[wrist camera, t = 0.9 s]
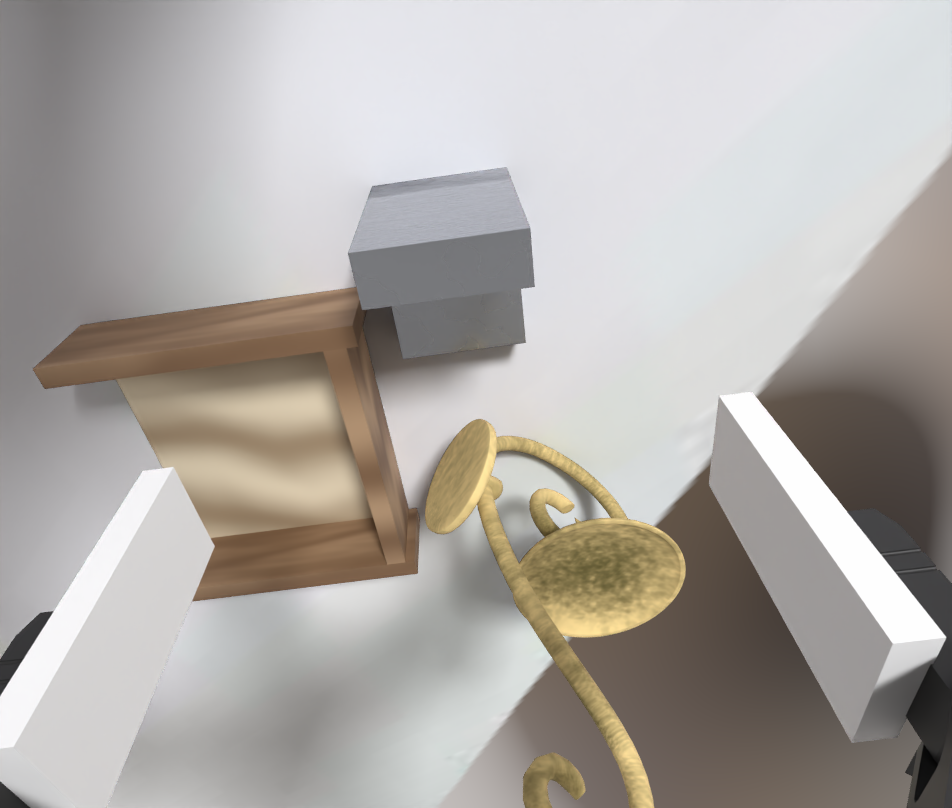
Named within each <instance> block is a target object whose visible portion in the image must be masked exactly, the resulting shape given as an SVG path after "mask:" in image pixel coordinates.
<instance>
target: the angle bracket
mask: <svg viewBox="0 0 952 808" xmlns="http://www.w3.org/2000/svg"><path fill="white" fill-rule="evenodd" d="M348 255H349V259H350V263H351V267H352V271H353V275H354V279H355V283H356V287H357V291H358V295H359V299H360V303H361V307H362V310H368V309H375V308H383V307H390V306H391V307H392V312H393V316H394V321H395V325H396V330H397V334H398V339H399V343H400V348H401V352H402V357H403V359H408V358H415V357H423V356H430V355H438V354H445V353H453V352H460V351H468V350H475V349H483V348H490V347H498V346H505V345H513V344H520V343H526V340H525V329H524V318H523V307H522V296H521V289H522V288H530V287H535V285H534V271H533V258H532V245H531V232H530V226H529V224H528V221H527V218H526V216H525V213H524V211H523V208H522V206H521V203H520V200H519V198H518V195H517V193H516V190H515V188H514V185H513V183H512V180H511V177H510V175H509V172H508V170H507V167H504V168H497V169H490V170H483V171H476V172H469V173H462V174H455V175H448V176H441V177H434V178H427V179H420V180H413V181H406V182H399V183H392V184H385V185H378V186H372V188H371V191H370V194H369V197H368V199H367V202H366V205H365V208H364V210H363V213H362V216H361V219H360V221H359V224H358V227H357V230H356V232H355V235H354V238H353V241H352V243H351V246H350V249H349V252H348Z"/></svg>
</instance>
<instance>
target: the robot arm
mask: <svg viewBox="0 0 952 808" xmlns="http://www.w3.org/2000/svg"><path fill="white" fill-rule="evenodd" d="M709 485H710V487H711V489H712V491H713V493H714V494H715V496H716V498H717V500H718V502H719V503H720V505H721V507H722V509H723V510H724V512H725V514H726V516H727V518H728V520H729V521H730V523H731V525H732V527H733V529H734V531H735V532H736V534H737V536H738V538H739V540H740V541H741V543H742V545H743V547H744V549H745V550H746V552H747V554H748V556H749V558H750V559H751V561H752V563H753V565H754V567H755V568H756V570H757V572H758V574H759V576H760V578H761V579H762V581H763V583H764V585H765V586H766V588H767V590H768V592H769V594H770V595H771V597H772V599H773V601H774V603H775V605H776V606H777V608H778V610H779V612H780V614H781V615H782V617H783V619H784V621H785V623H786V624H787V626H788V628H789V630H790V632H791V634H792V635H793V637H794V639H795V641H796V642H797V644H798V646H799V648H800V650H801V651H802V653H803V655H804V657H805V659H806V661H807V662H808V664H809V666H810V668H811V670H812V671H813V673H814V675H815V677H816V679H817V680H818V682H819V684H820V686H821V688H822V690H823V691H824V693H825V695H826V697H827V699H828V700H829V702H830V704H831V706H832V708H833V709H834V711H835V713H836V715H837V717H838V718H839V720H840V722H841V724H842V726H843V727H844V729H845V731H846V733H847V735H848V736H849V738H850V740H851V742H861V741H869V740H879V739H887V738H897V737H898V735H899V733H900V731H901V729H902V727H903V725H904V723H905V721H906V719H908V720H909V722H910V723H911V725H912V726H913V728H914V730H915V731H916V732H917V734H918V736H919V737H920V739H921V740H922V742H921V744H920V746H919V747H918V749H917V751H916V753H915V756H914V757H913V759H912V761H911V762H910V764H909V766H908V768H907V770H906V772H905V773H907V774H909V775H911V776H912V781H911V786H910V792H909V797H908V803H907V808H952V583H951V582H950V581H949V580H948V579H947V578H946V577H945V576H944V574H943V573H942V572H941V571H940V570H937V569H936V565H935V564H934V563H933V562H932V561H931V559H930V558H929V557H928V556H927V555H926V554H925V553H924V552H921V551H920V547H919V546H918V545H917V543H916V542H915V541H914V540H913V539H912V538H911V537H910V535H909V534H908V533H907V532H906V531H905V530H904V529H903V528H902V526H900V525H899V524H897V523H896V522H894V521H893V520H891V519H890V518H888V517H887V516H885V515H883V514H882V513H880V512H879V511H877V510H876V509H874V508H873V509H864V510H856V511H848V512H847V511H846V510H845V509H844V508H843V507H842V505H841V504H840V503H839V501H838V500H837V499H836V497H835V496H834V495H833V494H832V493H831V491H830V490H829V489H828V487H827V486H826V485H825V484H824V482H823V481H822V480H821V479H820V478H819V476H818V475H817V474H816V472H815V471H814V470H813V468H812V467H811V466H810V465H809V464H808V462H807V461H806V460H805V459H804V457H803V456H802V455H801V453H800V452H799V451H798V450H797V448H796V447H795V446H794V445H793V443H792V442H791V441H790V439H789V438H788V437H787V436H786V434H785V433H784V432H783V431H782V430H781V428H780V427H779V426H778V424H777V423H776V422H775V421H774V419H773V418H772V417H771V416H770V414H769V413H768V412H767V410H766V409H765V408H764V407H763V405H762V404H761V403H760V402H759V400H758V399H757V398H756V397H755V395H754V394H753V393H752V392H746V393H739V394H731V395H723V396H719V400H718V409H717V418H716V426H715V435H714V444H713V453H712V461H711V470H710V479H709ZM214 547H215V546H214V544H213V542H212V540H211V538H210V536H209V534H208V532H207V531H206V529H205V527H204V525H203V523H202V521H201V519H200V517H199V515H198V513H197V511H196V509H195V507H194V505H193V503H192V502H191V500H190V498H189V496H188V494H187V492H186V490H185V488H184V486H183V484H182V482H181V480H180V478H179V476H178V474H177V473H176V471H175V469H174V467H169V468H161V469H154V470H146V471H142V473H141V474H140V476H139V477H138V479H137V481H136V482H135V484H134V485H133V487H132V489H131V490H130V492H129V493H128V495H127V496H126V498H125V500H124V501H123V503H122V504H121V506H120V507H119V509H118V511H117V512H116V514H115V515H114V517H113V519H112V520H111V522H110V523H109V525H108V526H107V528H106V530H105V531H104V533H103V534H102V536H101V538H100V539H99V541H98V542H97V544H96V545H95V547H94V549H93V550H92V552H91V553H90V555H89V557H88V558H87V560H86V561H85V563H84V564H83V566H82V568H81V569H80V571H79V572H78V574H77V576H76V577H75V579H74V580H73V582H72V583H71V585H70V587H69V588H68V590H67V591H66V593H65V594H64V596H63V598H62V599H61V601H60V602H59V604H58V606H57V607H56V609H55V610H54V611H52V612H44V613H40V614H39V615H38V616H36V617H35V618H34V619H33V620H32V621H31V622H30V623H29V624H28V625H27V626H26V627H25V628H24V629H23V630H22V631H21V632H20V633H18V634H17V635H16V636H15V638H14V639H13V641H12V642H11V644H10V645H9V647H8V648H7V650H6V651H5V653H4V654H3V656H2V657H1V659H0V808H107V806H108V804H109V801H110V799H111V796H112V794H113V791H114V789H115V787H116V784H117V782H118V779H119V777H120V774H121V772H122V770H123V767H124V765H125V762H126V760H127V758H128V755H129V753H130V750H131V748H132V745H133V743H134V741H135V738H136V736H137V733H138V731H139V728H140V726H141V724H142V721H143V719H144V716H145V714H146V712H147V709H148V707H149V704H150V702H151V699H152V697H153V695H154V692H155V690H156V687H157V685H158V682H159V680H160V678H161V675H162V673H163V670H164V668H165V666H166V663H167V661H168V658H169V656H170V653H171V651H172V649H173V646H174V644H175V641H176V639H177V637H178V634H179V632H180V629H181V627H182V624H183V622H184V620H185V617H186V615H187V612H188V610H189V607H190V605H191V603H192V600H193V598H194V595H195V593H196V591H197V588H198V586H199V583H200V581H201V578H202V576H203V574H204V571H205V569H206V566H207V564H208V561H209V559H210V557H211V554H212V552H213V549H214Z"/></svg>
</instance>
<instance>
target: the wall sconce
mask: <svg viewBox="0 0 952 808" xmlns="http://www.w3.org/2000/svg"><path fill="white" fill-rule="evenodd" d="M510 450H511V451H519V452H524V453H527V454H530V455H533V456H535V457H538V458H540V459H542V460H544V461H546V462H548V463H550V464H552V465H554V466H555V467H557V468H559V469H560V470H562V471H563V472H565V473H566V474H568V475H569V476H571V477H572V478H573V479H575V480H576V481H577V482H579V483H580V484H581V485H582V486H583V487H584V488H586V489H587V490H588V491H589V492H590V493H591V494H592V495H593V496H594V497H595V498H596V499H597V500H598V502H599V503H600V504H601V505H602V506H603V508H604V509H605V510H606V511H607V513H608V514H609V516H610V517H611V518H599V519H592V520H586V521H582V522H580V521H579V520H577V519H576V518H575V521H576V523H574V524H571V525H568V526H566V527H563V528H561V529H560V528H559V527H558V526H557V525H556V524H555V523H554V522H553V521H552V519H551V518H550V516H549V515H548V513H547V511H546V507H545V504H549V505H551V506H553V507H554V508H556V509H557V510H559V511H560V512H561V513H568V512H570V511H571V510H572V509H573V508H574V504H573V503H572V502H571V501H570V500H569V499H567V498H566V497H565V496H563V495H562V494H560V493H558V492H556V491H554V490H550V489H546V488H545V489H538V490H537V491H536V492H535V493H533V495H532V496H531V499H530V513H531V516H532V519H533V521H534V523H535V525H536V526H537V528H538V529H539V531H540V532H541V533H542V535H543V536H544V537H545V538H543V539H542V540H540V541H539V542H538V543H537V544H535V545H534V546H533V547H532V548H531V549H530V550H529V551H528V552H527V553H526V555H525V556H524V557H523V558H522V560H521V561H520V563H519V562H518V560H517V559H516V557H515V554H514V552H513V550H512V548H511V546H510V543H509V541H508V539H507V537H506V534H505V532H504V529H503V526H502V524H501V521H500V518H499V515H498V512H497V509H496V506H495V502H494V500H496V499H497V498H498V497H499V496H500V495H501V493H502V490H503V485H502V482H501V481H500V480H499V479H497V478H495V477H493V476H491V473H492V470H493V466H494V463H495V458H496V453H498V452H501V451H510ZM476 505H478V510H479V514H480V517H481V521H482V524H483V528H484V530H485V533H486V536H487V539H488V541H489V544H490V546H491V549H492V551H493V553H494V556H495V558H496V560H497V563H498V565H499V567H500V569H501V571H502V573H503V575H504V578H505V580H506V582H507V584H508V586H509V588H510V590H511V591H512V593H513V598H514V601H515V603H516V606H517V607H518V609H519V611H520V612H521V613H522V614H523V616H524V617H525V618H526V619H527V620H528V621H529V623H530V625H531V626H532V628H533V629H534V631H535V632H536V634H537V636H538V637H539V639H540V640H541V642H542V643H543V645H544V646H545V648H546V649H547V651H548V652H549V654H550V655H551V657H552V658H553V660H554V661H555V663H556V664H557V666H558V667H559V669H560V670H561V672H562V673H563V675H564V676H565V678H566V679H567V681H568V682H569V684H570V685H571V687H572V688H573V690H574V691H575V693H576V694H577V696H578V697H579V699H580V700H581V702H582V703H583V705H584V706H585V708H586V709H587V710H588V712H589V714H590V715H591V717H592V718H593V720H594V722H595V723H596V725H597V727H598V728H599V730H600V731H601V733H602V734H603V736H604V738H605V740H606V742H607V744H608V746H609V747H610V749H611V751H612V753H613V755H614V757H615V759H616V762H617V764H618V766H619V768H620V771H621V774H622V777H623V779H624V782H625V786H626V790H627V794H628V800H629V808H654V804H653V798H652V793H651V789H650V785H649V782H648V778H647V775H646V772H645V770H644V767H643V764H642V762H641V759H640V757H639V755H638V753H637V751H636V749H635V747H634V745H633V742H632V741H631V739H630V737H629V736H628V734H627V732H626V730H625V728H624V726H623V725H622V723H621V722H620V720H619V718H618V717H617V715H616V714H615V712H614V710H613V709H612V707H611V706H610V704H609V703H608V701H607V700H606V698H605V697H604V695H603V694H602V692H601V691H600V690H599V688H598V687H597V685H596V683H595V682H594V681H593V679H592V678H591V676H590V675H589V673H588V672H587V670H586V669H585V668H584V666H583V665H582V663H581V662H580V660H579V659H578V657H577V656H576V655H575V653H574V652H573V650H572V649H571V647H570V646H569V644H568V643H567V641H566V640H565V639H564V637H563V636H562V635H564V636H571V637H599V636H606V635H611V634H616V633H619V632H623V631H626V630H629V629H631V628H634V627H637V626H638V625H641V624H643V623H645V622H647V621H648V620H650V619H651V618H653V617H655V616H656V615H657V614H659V613H660V612H661V611H663V610H664V609H665V608H666V607H667V606H668V605H669V604H670V603H671V602H672V601H673V599H674V598H675V597H676V595H677V594H678V592H679V591H680V588H681V586H682V584H683V581H684V577H685V560H684V557H683V554H682V552H681V550H680V549H679V547H678V545H677V544H676V543H675V542H674V541H673V539H672V538H671V537H669V536H668V535H667V534H666V533H664V532H663V531H661V530H659V529H658V528H656V527H654V526H651V525H649V524H647V523H643V522H639V521H636V520H630V519H628V518H627V516H626V515H625V513H624V511H623V510H622V508H621V507H620V505H619V504H618V503H617V501H616V500H615V499H614V498H613V496H612V495H611V494H610V493H609V492H608V491H607V490H606V489H605V488H604V487H603V486H602V485H601V484H600V483H599V482H598V481H597V480H596V479H595V478H594V477H593V476H592V475H590V474H589V473H588V472H587V471H586V470H584V469H583V468H582V467H580V466H579V465H578V464H576V463H575V462H573V461H572V460H570V459H569V458H567V457H565V456H564V455H562V454H560V453H559V452H557V451H555V450H553V449H551V448H549V447H547V446H545V445H543V444H541V443H538V442H536V441H533V440H530V439H526V438H522V437H515V436H500V437H496V432H495V430H494V428H493V426H492V425H491V424H490V423H488V422H487V421H485V420H482V419H477V420H474V421H472V422H470V423H469V424H467V425H466V426H465V427H464V428H463V429H462V430H461V431H460V432H459V433H458V434H457V435H456V437H455V438H454V439H453V441H452V442H451V444H450V445H449V447H448V448H447V450H446V451H445V453H444V455H443V457H442V459H441V461H440V463H439V465H438V467H437V469H436V471H435V474H434V476H433V479H432V482H431V485H430V488H429V492H428V496H427V500H426V507H425V520H426V524H427V527H428V528H429V529H430V530H431V531H432V532H435V533H437V534H447V533H450V532H452V531H453V530H455V529H456V528H457V527H459V526H460V525H461V524H462V523H463V522H464V521H465V520H466V519H467V518H468V516H469V515H470V514H471V513H472V511H473V510H474V508H475V507H476ZM549 780H554V781H556V782H557V783H559V784H560V785H561V786H562V787H563V788H564V789H565V790H567V792H569V793H570V794H571V795H572V796H573V798H574V799H575V800H577V799H579V798H580V797H581V796H582V795H583V794H584V792H585V785H584V781H583V779H582V777H581V775H580V772H579V771H578V770H577V769H576V768H575V767H574V766H573V765H572V763H571V762H570V761H569V760H567V759H565V758H563V757H561V756H560V755H558V754H556V753H550V754H546V755H543V756H539V757H537V758H535V759H534V761H533V762H532V764H531V765H530V767H529V768H528V770H527V771H526V772H525V774H524V777H523V801H524V805H525V808H552V806H551V804H550V801H549V798H548V791H547V785H548V782H549Z"/></svg>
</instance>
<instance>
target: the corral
mask: <svg viewBox="0 0 952 808" xmlns="http://www.w3.org/2000/svg"><path fill="white" fill-rule="evenodd" d="M366 311H367V310H362V307H361V303H360V299H359V295H358V291H357V287H354V288H347V289H340V290H333V291H325V292H318V293H311V294H303V295H296V296H289V297H282V298H274V299H267V300H260V301H252V302H245V303H238V304H231V305H223V306H216V307H209V308H202V309H194V310H187V311H180V312H172V313H165V314H158V315H151V316H143V317H136V318H129V319H121V320H114V321H107V322H100V323H92V324H85V325H80V326H79V327H78V328H77V329H76V330H75V331H74V332H73V333H72V334H71V335H69V336H68V337H67V338H66V339H65V340H64V341H63V342H62V343H61V344H60V345H58V346H57V347H56V348H55V349H54V350H53V351H52V352H51V353H50V354H49V355H47V356H46V357H45V358H44V359H43V360H42V361H41V362H40V363H39V364H38V365H36V366H35V367H34V368H33V371H34V372H35V374H36V376H37V377H38V379H39V380H40V382H41V384H42V385H43V387H44V389H48V388H55V387H63V386H70V385H78V384H85V383H93V382H100V381H108V380H115V379H116V381H117V383H118V385H119V386H120V388H121V390H122V392H123V394H124V396H125V398H126V400H127V401H128V403H129V405H130V407H131V409H132V411H133V413H134V415H135V417H136V418H137V420H138V422H139V424H140V426H141V428H142V430H143V432H144V433H145V435H146V437H147V439H148V441H149V443H150V445H151V447H152V448H153V450H154V452H155V454H156V456H157V458H158V460H159V462H160V464H161V465H162V467H163V468H169V467H174V469H175V471H176V473H177V474H178V476H179V478H180V480H181V482H182V484H183V486H184V488H185V490H186V492H187V494H188V496H189V498H190V500H191V502H192V503H193V505H194V507H195V509H196V511H197V513H198V515H199V517H200V519H201V521H202V523H203V525H204V527H205V529H206V531H207V532H208V534H209V536H210V538H211V540H212V542H213V544H214V546H215V547H214V549H213V552H212V554H211V557H210V559H209V561H208V564H207V566H206V569H205V571H204V574H203V576H202V578H201V581H200V583H199V586H198V588H197V591H196V593H195V595H194V598H193V600H192V601H200V600H208V599H216V598H224V597H232V596H240V595H248V594H256V593H264V592H272V591H280V590H289V589H297V588H305V587H313V586H321V585H329V584H337V583H345V582H353V581H361V580H370V579H378V578H386V577H394V576H402V575H410V574H418V553H419V528H420V519H419V515H418V511H417V508H414V509H409V508H408V504H407V501H406V497H405V493H404V489H403V485H402V481H401V477H400V473H399V469H398V465H397V461H396V457H395V453H394V449H393V445H392V441H391V437H390V434H389V430H388V426H387V422H386V418H385V414H384V410H383V406H382V402H381V398H380V394H379V390H378V386H377V382H376V378H375V374H374V370H373V367H372V363H371V359H370V355H369V351H368V347H367V343H366V339H365V335H364V331H363V323H364V319H365V315H366Z"/></svg>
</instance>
